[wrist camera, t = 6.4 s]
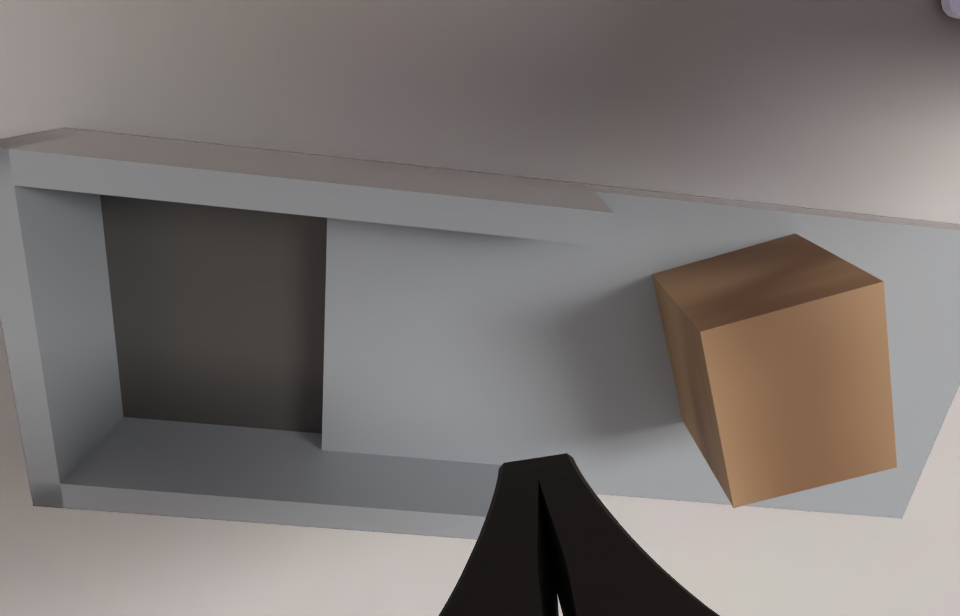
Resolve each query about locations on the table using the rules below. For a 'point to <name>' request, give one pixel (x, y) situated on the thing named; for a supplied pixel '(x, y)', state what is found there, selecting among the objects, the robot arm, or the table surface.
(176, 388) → the trap channel
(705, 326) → the walnut block
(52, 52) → the table surface
